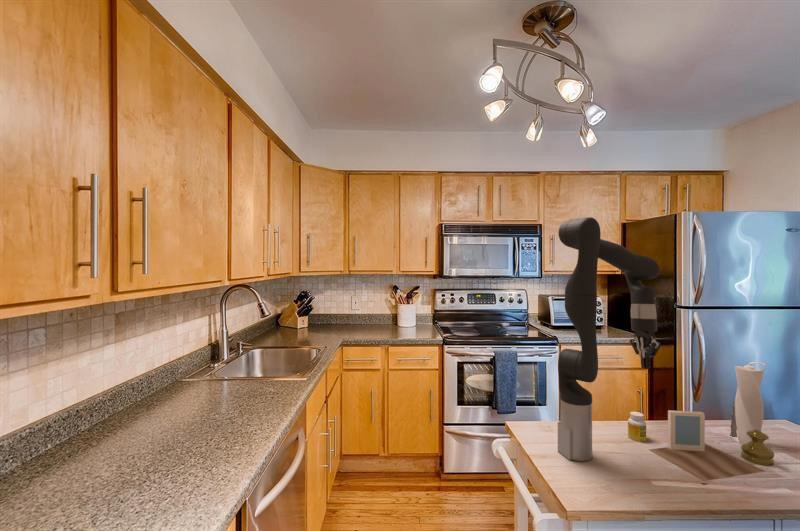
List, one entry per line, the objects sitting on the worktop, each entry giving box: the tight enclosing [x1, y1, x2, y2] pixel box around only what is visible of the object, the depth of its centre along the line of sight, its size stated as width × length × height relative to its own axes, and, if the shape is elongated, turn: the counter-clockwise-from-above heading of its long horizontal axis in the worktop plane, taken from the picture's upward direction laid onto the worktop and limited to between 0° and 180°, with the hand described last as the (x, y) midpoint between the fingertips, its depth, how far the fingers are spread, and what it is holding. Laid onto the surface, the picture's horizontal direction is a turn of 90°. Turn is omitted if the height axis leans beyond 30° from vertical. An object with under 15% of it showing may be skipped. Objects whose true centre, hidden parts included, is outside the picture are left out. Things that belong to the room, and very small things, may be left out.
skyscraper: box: [729, 361, 767, 445], centre depth 130 cm, size 8×8×28 cm
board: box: [648, 442, 765, 486], centre depth 117 cm, size 22×18×1 cm
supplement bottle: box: [627, 411, 647, 443], centre depth 131 cm, size 5×5×10 cm
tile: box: [667, 409, 706, 451], centre depth 123 cm, size 10×2×12 cm, turn 82°
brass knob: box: [740, 430, 775, 467], centre depth 117 cm, size 7×7×10 cm
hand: (645, 368), depth 130 cm, fingers closed
